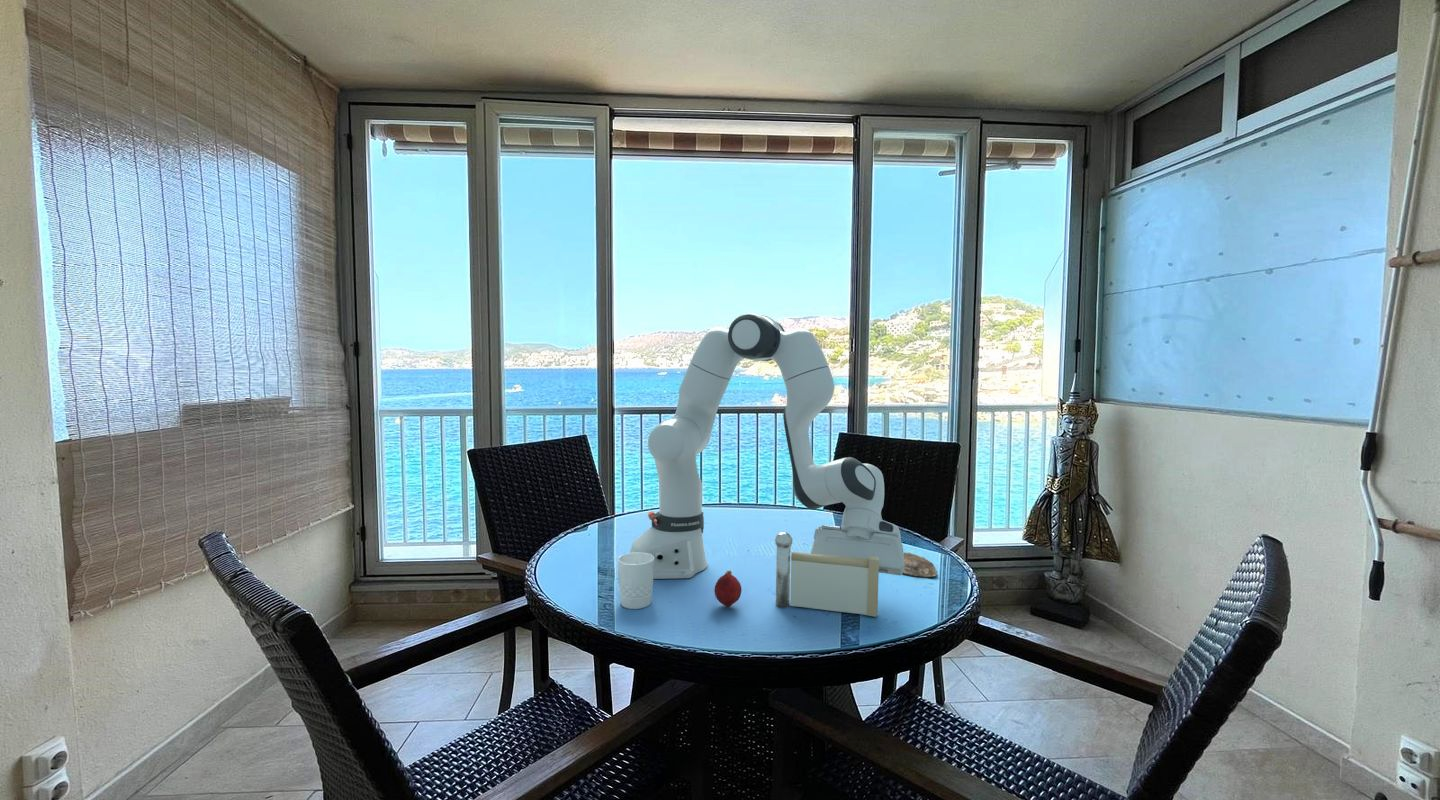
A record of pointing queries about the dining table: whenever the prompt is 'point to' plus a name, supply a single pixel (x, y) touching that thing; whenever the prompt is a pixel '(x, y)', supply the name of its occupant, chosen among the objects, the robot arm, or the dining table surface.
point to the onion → (727, 589)
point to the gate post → (783, 569)
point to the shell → (918, 566)
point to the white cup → (636, 579)
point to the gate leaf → (835, 583)
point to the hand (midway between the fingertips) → (853, 586)
